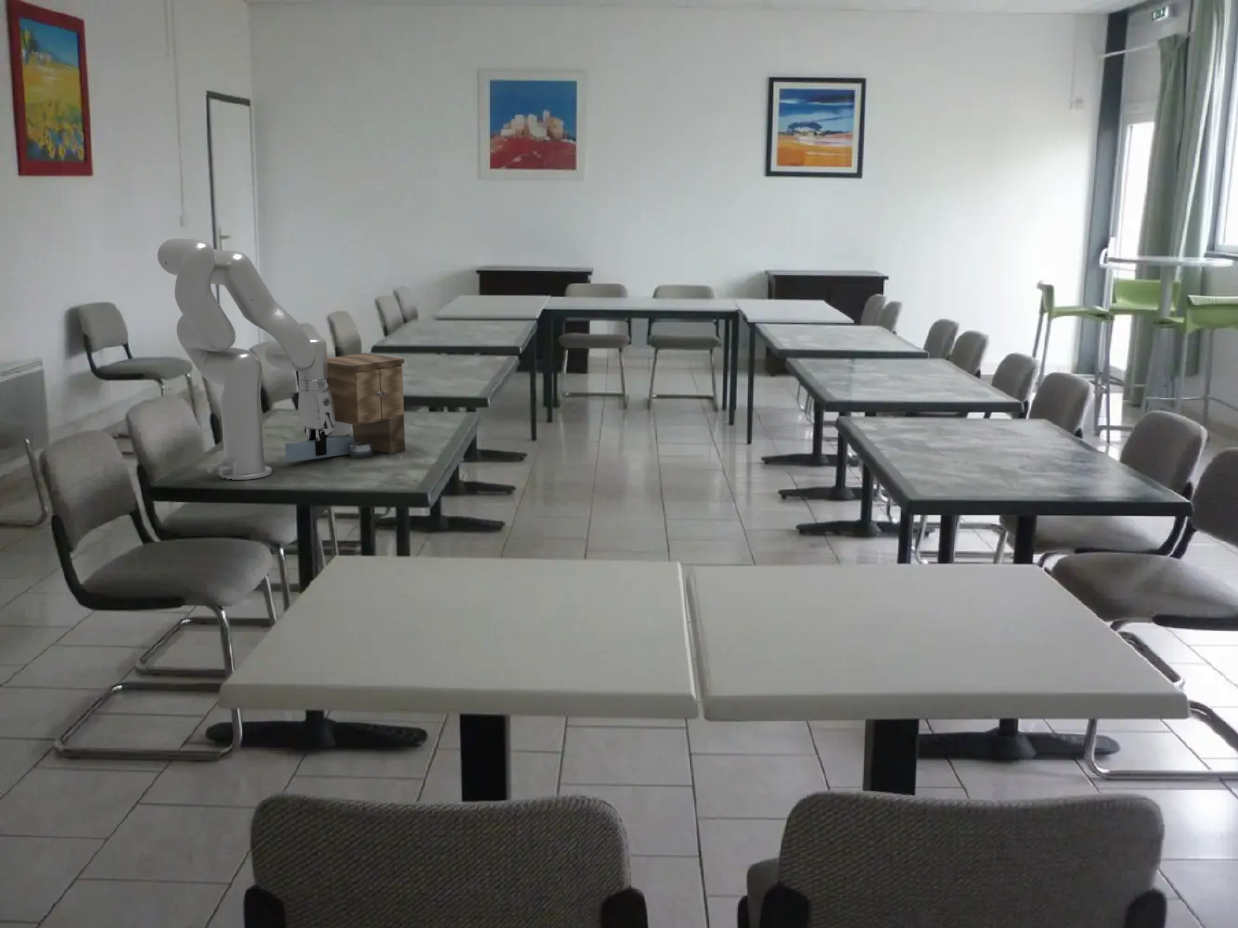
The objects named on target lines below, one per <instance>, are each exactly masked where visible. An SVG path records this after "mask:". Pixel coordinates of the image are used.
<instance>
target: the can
mask: <svg viewBox="0 0 1238 928" xmlns="http://www.w3.org/2000/svg"><path fill="white" fill-rule="evenodd" d="M351 429H352V428H351V424H347V423H342V422H337V421H335V427H333V428H332V430H333V433H331V434H329V435H328V438H334V437H342V436H349V435H350V433H351V431H352V430H351Z"/></svg>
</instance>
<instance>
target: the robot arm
mask: <svg viewBox="0 0 1238 928" xmlns="http://www.w3.org/2000/svg"><path fill="white" fill-rule="evenodd" d="M156 256H157V261H158V264H159V265H160V267H161V269H163V270H164V271H165V272H166V273H168V274H171V275H174V276H176V279H175V286H174V298H175V301H176V304H177V307H178V308H179V310H180V312H181V314H182V315H181V316H180V317H179V319H178V321H177V324H176V337H177V338H178V341H179V343H180V345H181V347H182V348H183V350H184V351H185V353H186V354H187V356H188V357H189V359H190V361H191V363H192V364H193V365H194V366H195V368H196V369H197V370H198V372H199V374H200V375H201V377H203V378H204V379H205V380H206V381H208V382H210V383H212V384H216V385H221V386H223V390H222V393H221V398H220V415H221V428H222V440H223V441H222V442H223V443H222V444H223V455H224V457H221V458H220V461H219V462H218V463H216V464H215V463H213V464H209V465H207V466H206V469H207V470H206V471H207V473H209V474H212V473H217V472H218V475H219V477H220V478H222V479H224V478H225V480H230V479H232V481H233V480H234V481H235V480H236V481H240V480H241V481H244V480H254V479H255V480H256V479H260V478H264V477H268V476H269V475H272V472H273V471H272V467H270V466H269V465H266V464H265V463H266V462H265V451H264V446H265V445H264V435H263V434H264V433H263V432H264V431H263V420H262V419H263V418H262V407H261V406H262V404H261V386H262V380H263V379H262V378H263V364H262V362H261V361H260V359H259V357H258V356H257V355H256V354H255V353H253V352H251V351H250V350H247V349H243V348H237V347H233V345H234V344H235V342H236V337H237V336H236V335H237V334H236V330H235V327H234V326H233V324H232V322H231V321H230V319H229V317H228V316H227V315H226V313H225V311H224V310H223V308H222V306H221V305H220V303H219V302H218V300H217V298H216V296H215V295H214V292H213V290H212V285H220V286H224V287H225V289H226V290H227V292H228V293H229V295H230V297H231V298H232V300H233V302H234V303H235V304H236V306H237V308H238V309H239V311H240V313H241V314H242V317H244V319H246V320H247V321H249V322H250V323H251V324H253V325H254V326H256V327H257V328H260V329H262V330H263V331H265V332H266V333H267V334H269V335H270V336H271V337H272V338H274V340H272V341H271V342H269V343H268V344H267V346H266V347H265V349H264V356H265V357H264V358H265V360H266V361H267V363H268V364H269V365H270V366H272V367H274V368H277V369H281V370H285V371H286V370H289V371H293V372H294V371H295V372H297V373H298V387H299V390H298V402H297V403H298V407H297V408H298V409H297V410H298V421H299V424H300V425H299V426H300V428H301V429H302V430H303V431H304V433H305V434H306V436H305V437H306V439H307V441H309V440H317V441H315V450H316V456H321V455H326V454H327V447H326V440H327V439H328V438H329V437H328V435H329V434H331V433H333V430H332V428H333V427H335V413H334V405H333V399H332V395H331V392H330V391H329V379H328V361H327V358H328V345H327V340H326V339H325V338H323V337H320V336H319V337H318V336H317V337H316V336H312V337H311V336H310V337H309V336H308V335H307V333H306V331H305V330H304V328H303V327H302V325H300V323H299V322H298V321H297V320H296V318H294V317H293V316H292V315H291V314H290V313H289V312H288V311H287V310H286V309H285V308H283V306H281V305H280V304H279V303H278V302H277V301H276V300H275V298H274V297H273V296H272V294H271V292H270V291H269V288H268V287H267V286H266V284H265V282H264V281H263V278H262V277H261V275H260V274H259V272H258V270H257V269H256V267H255V265H254V263H253V262H252V260H251V259H250V257H249V256H247V254H245V253H244V252H240V251H237V250H222V249H215V248H213V247H212V245H210V243H208V242H206V241H203V240H201V239H195V238H194V239H193V238H192V239H189V238H170V239H167V240H165V241H164V242H162V244H161V245H160V246H159V248H158V250H157V255H156Z"/></svg>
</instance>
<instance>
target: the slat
mask: <svg viewBox="0 0 1238 928" xmlns="http://www.w3.org/2000/svg"><path fill="white" fill-rule="evenodd" d="M308 440H309V439H308ZM308 440H302V441H301V440H300V441H294V442H286V443H285V444H284V445H285V446H284V447H285V452H284V453H285V462H291V463H294V462H301V461H307V460H315V459H322V458H330V457H336V456H346V455H349V443H351V442H354V437H353V435H348V436H342V437H334V438H332V437H328V439H327V440H326V447H327V454H326V455H321V456H316V450H315V441H317V440H309V441H308Z"/></svg>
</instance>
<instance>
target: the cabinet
mask: <svg viewBox="0 0 1238 928" xmlns="http://www.w3.org/2000/svg"><path fill="white" fill-rule="evenodd" d="M327 361H328V379H329V391H330V392H331V395H332V399H333V405H334V413H335V421H337V422H342V423H347V424H350V425H352V437H354V442H355V441H369V442H372V451H377V452H381V453H385V452H386V453H387V454H389V453H392V454H397V453H401V452H406V439H405V438H406V436H405V417H404V415H405V409H404V408H405V405H404V381H403V380H404V379H403V366H402V364H405V358H400V357H393V356H387V355H386V356H385V355H379V354H371V353H366V352H364V353H363V352H362V353H356V354H347V355H339V356H333V357H327ZM396 452H397V453H396ZM386 453H385V454H386Z"/></svg>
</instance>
